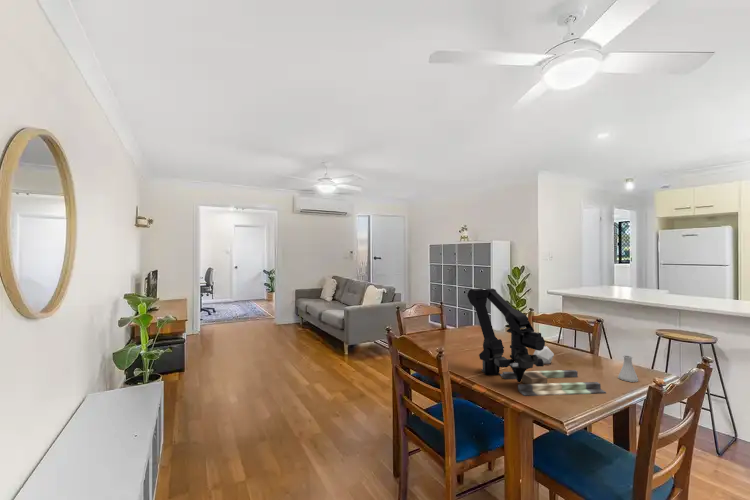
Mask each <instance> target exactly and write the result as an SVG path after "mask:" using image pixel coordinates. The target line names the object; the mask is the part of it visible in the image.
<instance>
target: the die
mask: <svg viewBox="0 0 750 500" xmlns="http://www.w3.org/2000/svg"><path fill="white" fill-rule="evenodd" d="M532 355H537V356H538V357H539V358H541V359H542V360H543V362H544V365H546V364H549V365H551V362H552V360H553V358H554V355H555V353H554V352H553V351H552V350H551V349H550V348H549V347H548V346H547V345H546V346H544V348H543V349H542V350H541V351H538V350H535V349H534V352H533V353H532Z"/></svg>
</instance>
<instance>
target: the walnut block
mask: <svg viewBox="0 0 750 500" xmlns="http://www.w3.org/2000/svg"><path fill="white" fill-rule="evenodd" d="M521 383H523V384H546V383H548V378H547V377H545V376H543V375H542V374H540V373H538V372H526V373H524V374H523V377H522V379H521Z"/></svg>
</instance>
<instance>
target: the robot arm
mask: <svg viewBox="0 0 750 500" xmlns="http://www.w3.org/2000/svg"><path fill="white" fill-rule="evenodd" d="M467 299H468V300H469V303H470V305H472V307H473V308H474V309H475V312H476V316H477V319H478V322H479V325H480V326H479V327H480V329H481V332H482V336H483V341H482V348H483V350H482V351H481V352H480V353H478V357H479V360H481V361H482V369H481V372H482V373H483V374H484V375H485V376H500V374H501V373H500V372H501V371H500V368H509V367H510V368H511V370H512V372H514V375H515V377H516V379H515V380H516V382H517V383H522V377H523V374H524V372H525V371H528V369H532V368H533V366H534V365H535V367H544V365H545V364H544V362H543V360H542V359H541V358H539V357H538V356H537V355H533V354H529V350H528V349H532V350H534V351H535V350H538V351H541V350H542V349H543V348H544V346H545V345H546V340H545V338H544V337H543V336H542V333H541V332H537V331H535V329H534V327H533V326H532V324H531V322H530V321H529V318H528V315H526V314H524V313H523V312H522V311H520V310H518V309H516V308H514V307H513V306H512V305H511V304H509V303H508V301H506V300H505V299H504V297H502V296H501V295H500V294H499V293H498V292H497V289H495V288H491V287H490V288H485V289H483V288H482V287H481V288H480V287H479V288H471V289H468V292H467ZM488 300H489V302H491V303H492V304H493V305H494V307H495V308H497V309H498V311H499V312H501V314H502V315H503V316H504V319H505V321H506V323H507V325H508V326H509V328H508V329H507V330H506V332H507V333H510V342H511V343H510V344H511V345H509V348H510V349H511V350H510V353H511V354H509V358H507V357H505V356H503V355H504V354H505V350H504V349H505V347H504V345H503V340H502V338H501V339H500V338H499V339H498V338H497V337H496V334H495V331H494V328H493V325H492V321H491V318H490V315H489V313H488V312H489V311H488V309H487V302H488Z"/></svg>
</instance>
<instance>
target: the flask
mask: <svg viewBox="0 0 750 500" xmlns="http://www.w3.org/2000/svg"><path fill="white" fill-rule="evenodd" d="M622 357H623V364H622V367H621V369H620V371H619V373H618V376H617V379H620V380H622V381H625V382H630V383H634V382H635V383H638V382H639V378H638V375H637V373H636V370H635V368H634V365H633V361H632V360H633V356H632V355H627V354H626V355H623V356H622Z"/></svg>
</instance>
